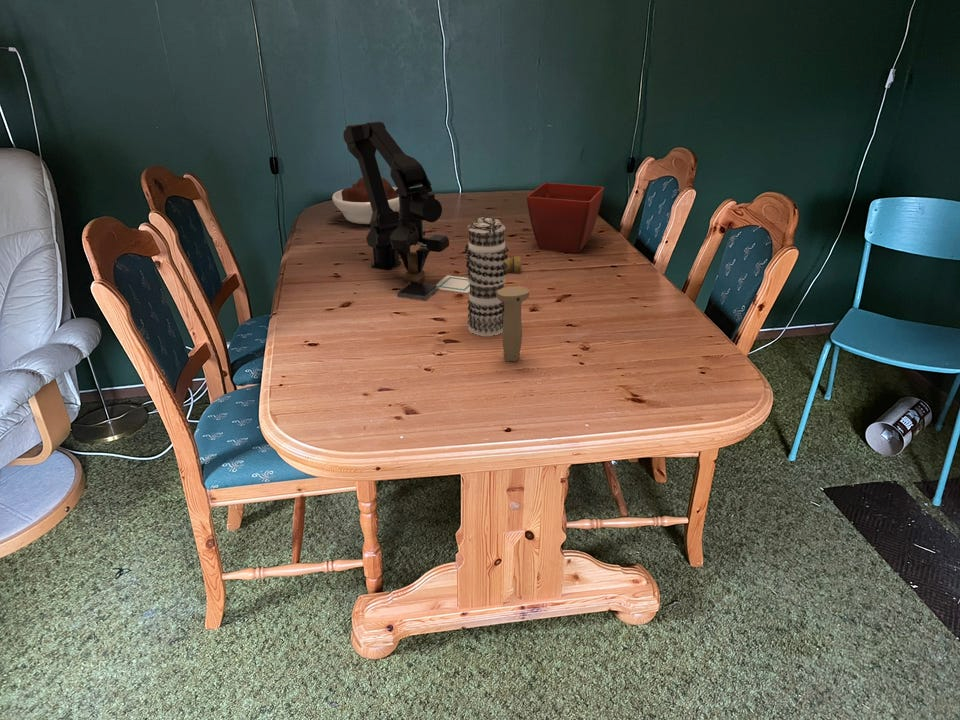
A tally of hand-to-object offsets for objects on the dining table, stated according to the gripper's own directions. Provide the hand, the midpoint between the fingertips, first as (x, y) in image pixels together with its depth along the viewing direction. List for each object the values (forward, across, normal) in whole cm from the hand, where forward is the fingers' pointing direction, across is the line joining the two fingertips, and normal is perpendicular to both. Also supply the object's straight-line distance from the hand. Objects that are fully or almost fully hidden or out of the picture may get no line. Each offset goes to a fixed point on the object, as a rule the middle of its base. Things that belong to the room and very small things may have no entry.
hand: (414, 271), depth 172 cm
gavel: (+3, +17, +22) cm, 28 cm away
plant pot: (+3, +30, +43) cm, 53 cm away
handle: (+3, +39, -34) cm, 52 cm away
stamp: (+2, 0, 0) cm, 2 cm away
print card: (+2, +12, +1) cm, 12 cm away
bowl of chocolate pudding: (+3, -40, +47) cm, 62 cm away
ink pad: (+2, +5, -8) cm, 10 cm away
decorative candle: (+3, +29, -22) cm, 37 cm away
